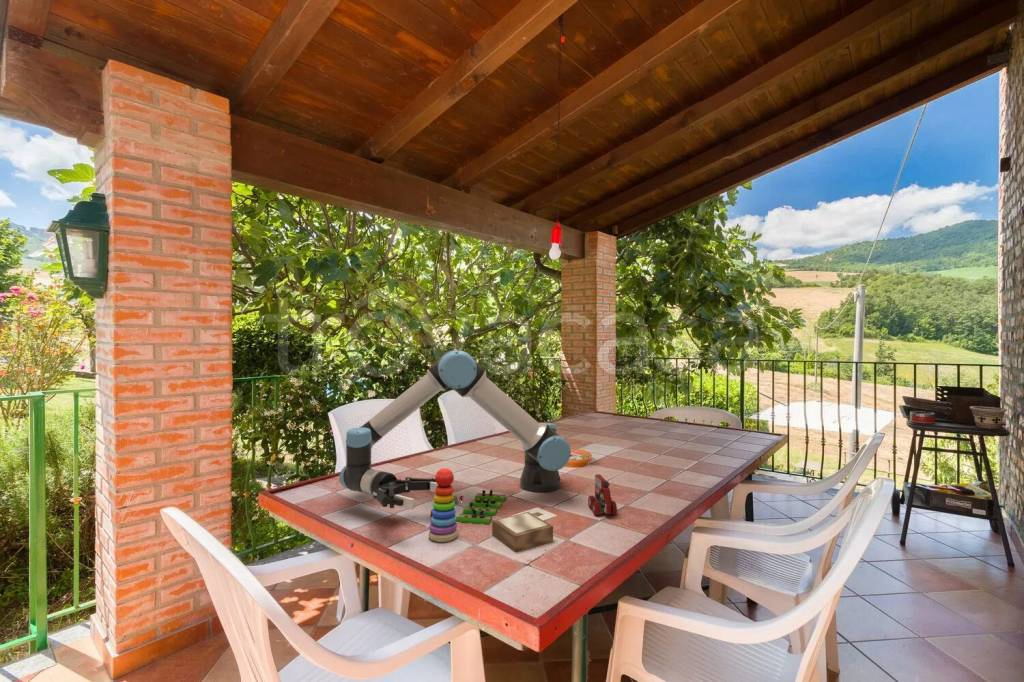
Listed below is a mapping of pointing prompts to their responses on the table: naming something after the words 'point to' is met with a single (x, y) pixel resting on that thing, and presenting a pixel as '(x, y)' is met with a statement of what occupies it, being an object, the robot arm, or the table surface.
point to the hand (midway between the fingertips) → (431, 497)
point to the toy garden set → (480, 508)
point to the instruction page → (539, 513)
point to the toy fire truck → (602, 498)
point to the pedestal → (522, 531)
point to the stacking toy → (443, 509)
